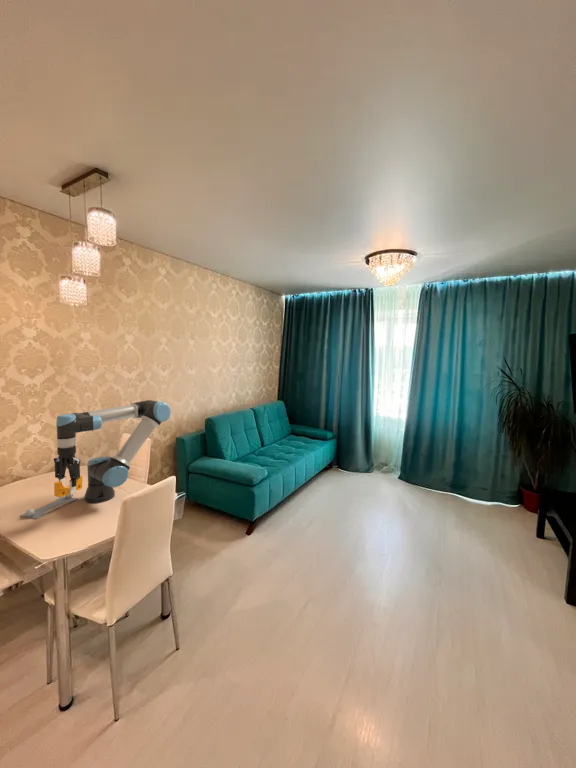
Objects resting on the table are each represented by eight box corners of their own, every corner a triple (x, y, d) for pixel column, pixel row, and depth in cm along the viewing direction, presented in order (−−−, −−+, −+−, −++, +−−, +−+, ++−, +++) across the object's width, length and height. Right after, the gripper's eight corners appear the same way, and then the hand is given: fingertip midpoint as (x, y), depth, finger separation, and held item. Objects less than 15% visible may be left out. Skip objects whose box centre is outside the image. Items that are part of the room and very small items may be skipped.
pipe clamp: (60, 497, 153) (60, 484, 153) (54, 495, 155) (54, 482, 154) (84, 488, 164) (84, 476, 164) (78, 487, 166) (78, 475, 166)
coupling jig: (77, 499, 181) (77, 492, 181) (36, 519, 158) (36, 511, 157) (63, 497, 183) (63, 490, 183) (20, 516, 160) (20, 509, 159)
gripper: (88, 445, 159) (89, 491, 161) (58, 442, 163) (59, 487, 164) (75, 449, 152) (76, 497, 153) (44, 446, 155) (45, 493, 157)
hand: (67, 492), depth 159 cm, fingers closed on pipe clamp, 5 cm apart
